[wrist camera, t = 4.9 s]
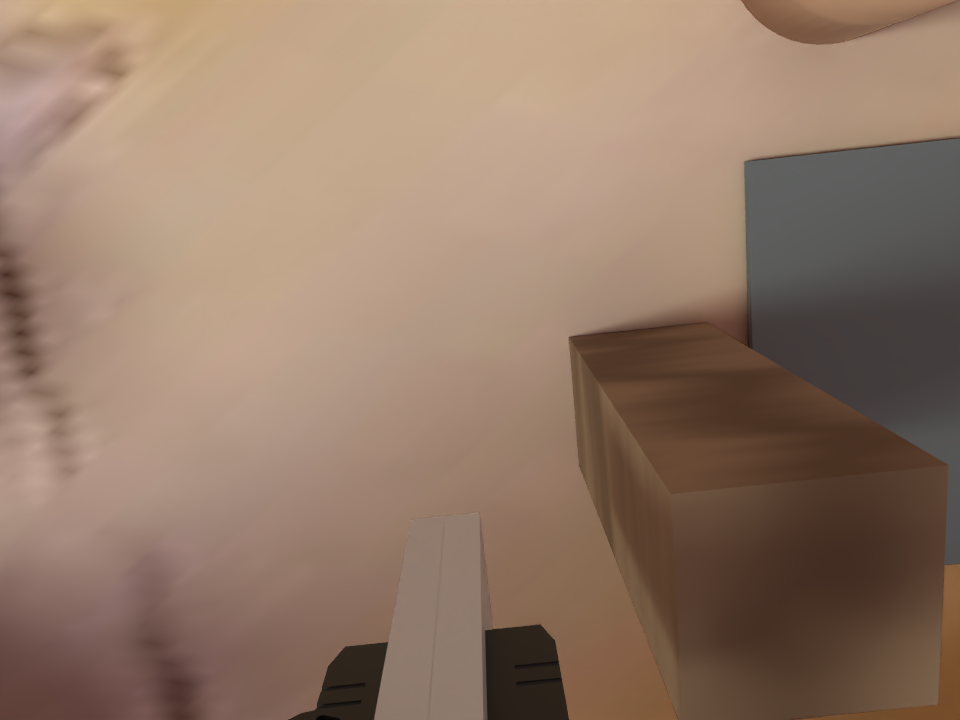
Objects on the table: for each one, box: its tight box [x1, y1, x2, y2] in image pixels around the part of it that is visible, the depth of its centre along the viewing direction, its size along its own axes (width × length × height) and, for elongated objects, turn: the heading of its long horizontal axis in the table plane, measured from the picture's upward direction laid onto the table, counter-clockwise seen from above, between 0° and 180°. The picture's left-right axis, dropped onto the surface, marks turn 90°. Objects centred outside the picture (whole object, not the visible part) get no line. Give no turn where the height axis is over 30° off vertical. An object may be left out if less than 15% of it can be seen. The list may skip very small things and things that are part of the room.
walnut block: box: [569, 322, 949, 720], centre depth 21 cm, size 5×5×14 cm
